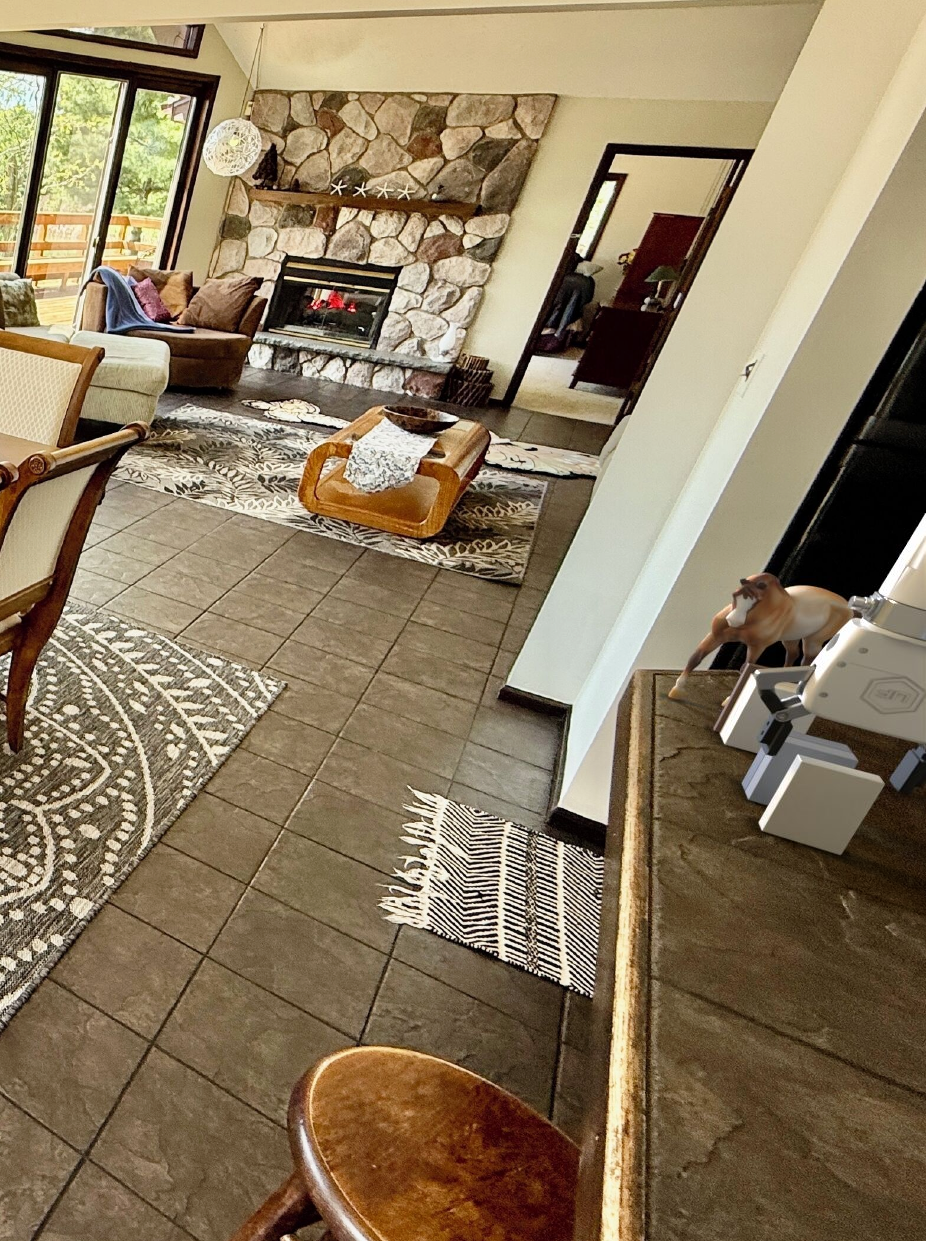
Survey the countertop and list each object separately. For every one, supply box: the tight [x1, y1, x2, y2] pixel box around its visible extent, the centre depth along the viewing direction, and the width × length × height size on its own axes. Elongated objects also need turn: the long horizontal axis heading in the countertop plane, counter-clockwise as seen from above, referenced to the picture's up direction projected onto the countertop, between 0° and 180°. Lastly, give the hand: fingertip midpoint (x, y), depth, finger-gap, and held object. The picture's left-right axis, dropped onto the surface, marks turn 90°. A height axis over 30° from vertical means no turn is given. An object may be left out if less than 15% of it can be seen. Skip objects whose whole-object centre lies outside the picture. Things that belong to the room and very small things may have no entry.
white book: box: [758, 754, 886, 856], centre depth 94 cm, size 6×2×9 cm, turn 52°
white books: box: [713, 663, 817, 754], centre depth 112 cm, size 7×5×10 cm
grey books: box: [741, 731, 860, 806], centre depth 101 cm, size 6×4×8 cm
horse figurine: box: [668, 572, 863, 708], centre depth 123 cm, size 31×8×21 cm, turn 100°
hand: (830, 769), depth 93 cm, fingers open, 9 cm apart
